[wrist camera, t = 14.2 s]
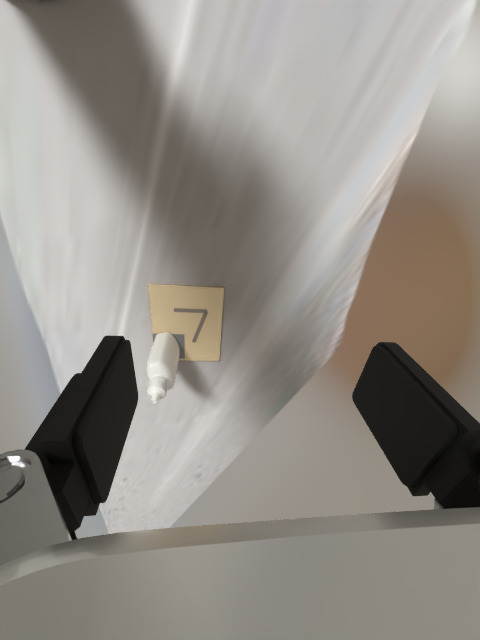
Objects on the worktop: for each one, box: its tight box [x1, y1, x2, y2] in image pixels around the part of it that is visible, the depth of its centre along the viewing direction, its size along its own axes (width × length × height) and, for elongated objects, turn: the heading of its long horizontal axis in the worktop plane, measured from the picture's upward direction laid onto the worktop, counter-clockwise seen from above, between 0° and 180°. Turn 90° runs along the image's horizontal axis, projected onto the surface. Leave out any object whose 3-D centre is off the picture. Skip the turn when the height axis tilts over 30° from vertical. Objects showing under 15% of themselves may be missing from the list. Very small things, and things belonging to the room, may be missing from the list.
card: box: [148, 284, 224, 361], centre depth 41 cm, size 14×11×1 cm
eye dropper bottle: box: [147, 332, 180, 404], centre depth 38 cm, size 4×6×12 cm
